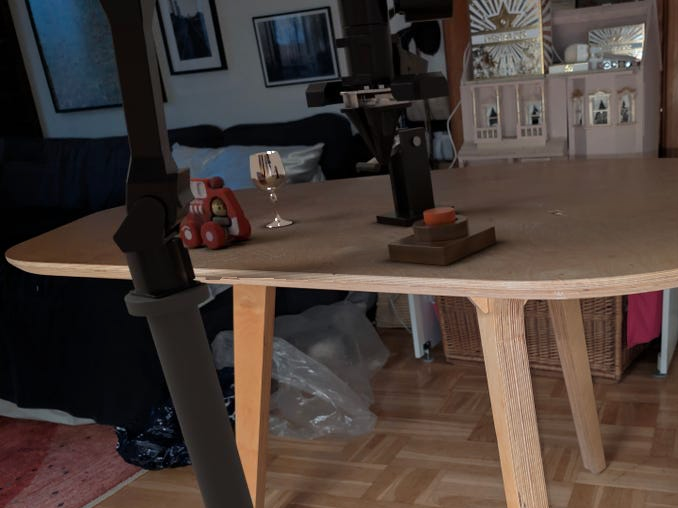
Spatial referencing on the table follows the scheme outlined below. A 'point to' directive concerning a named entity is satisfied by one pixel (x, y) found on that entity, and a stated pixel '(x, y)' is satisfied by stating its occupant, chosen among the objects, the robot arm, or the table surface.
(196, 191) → the toy fire truck
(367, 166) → the lever
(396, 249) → the button block
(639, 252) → the table surface
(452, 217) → the button
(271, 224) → the wineglass
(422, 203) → the bracket
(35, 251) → the table surface
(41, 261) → the table surface
